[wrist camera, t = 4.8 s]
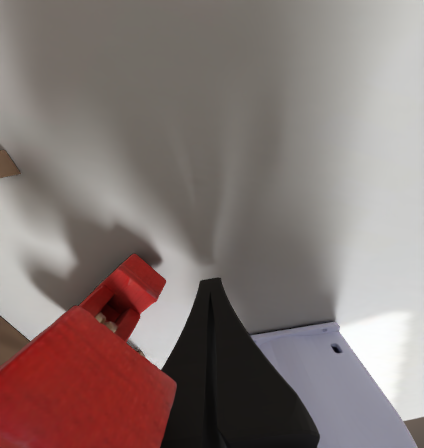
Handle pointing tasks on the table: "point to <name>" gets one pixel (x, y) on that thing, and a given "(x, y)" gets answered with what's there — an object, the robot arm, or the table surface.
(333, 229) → the table surface
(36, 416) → the toy fire truck
